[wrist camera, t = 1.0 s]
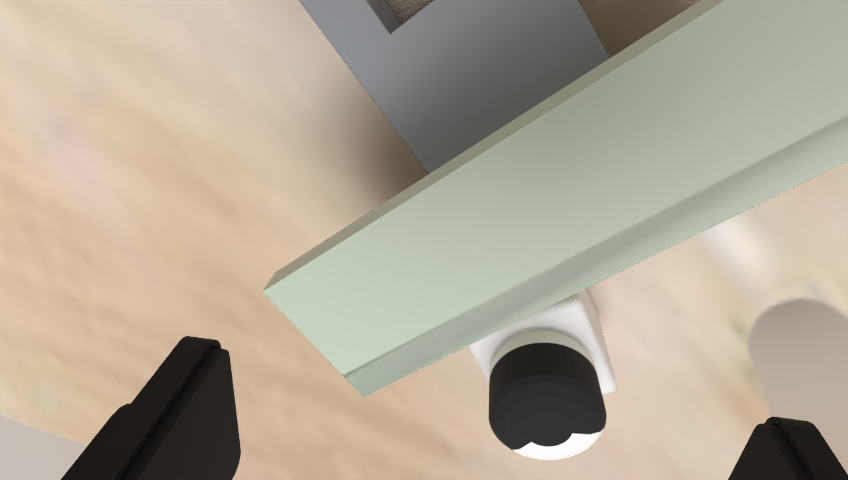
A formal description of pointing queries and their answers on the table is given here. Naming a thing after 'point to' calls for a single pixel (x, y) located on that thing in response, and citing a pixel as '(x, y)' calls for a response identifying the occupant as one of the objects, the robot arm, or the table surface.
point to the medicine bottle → (548, 379)
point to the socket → (459, 63)
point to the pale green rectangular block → (582, 186)
